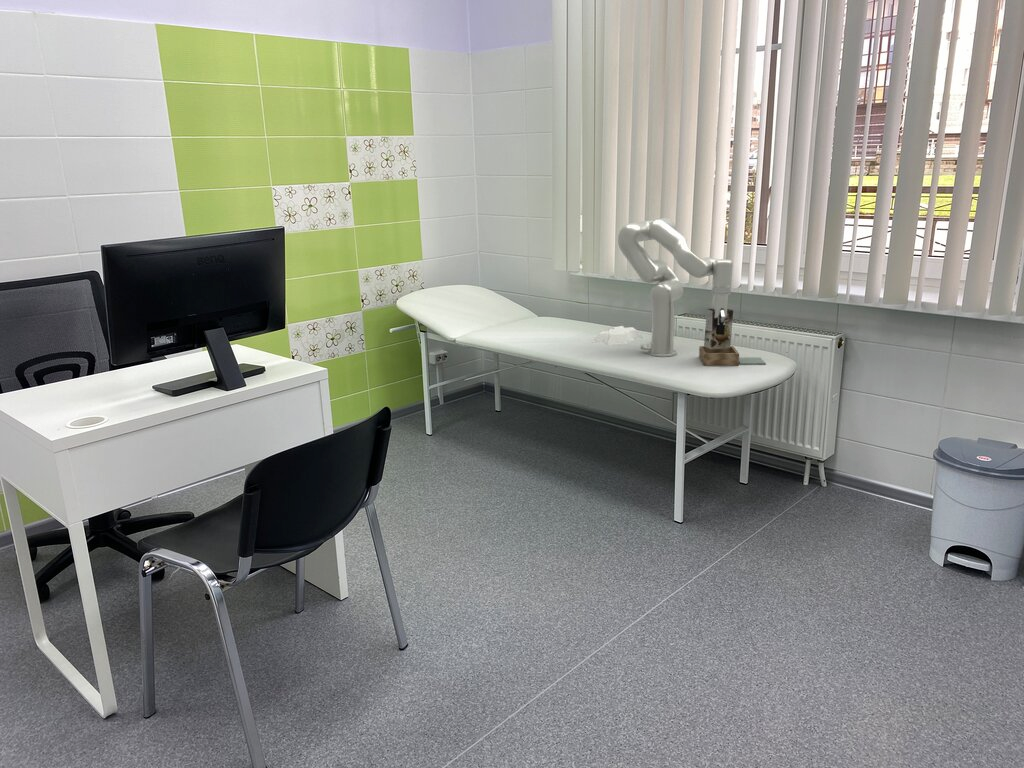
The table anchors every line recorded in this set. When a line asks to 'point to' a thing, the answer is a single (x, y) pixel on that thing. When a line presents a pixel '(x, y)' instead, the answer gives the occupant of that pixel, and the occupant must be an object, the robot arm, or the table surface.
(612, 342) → the paper sheets
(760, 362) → the mat
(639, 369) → the table surface
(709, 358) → the holder
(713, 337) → the coffee box
